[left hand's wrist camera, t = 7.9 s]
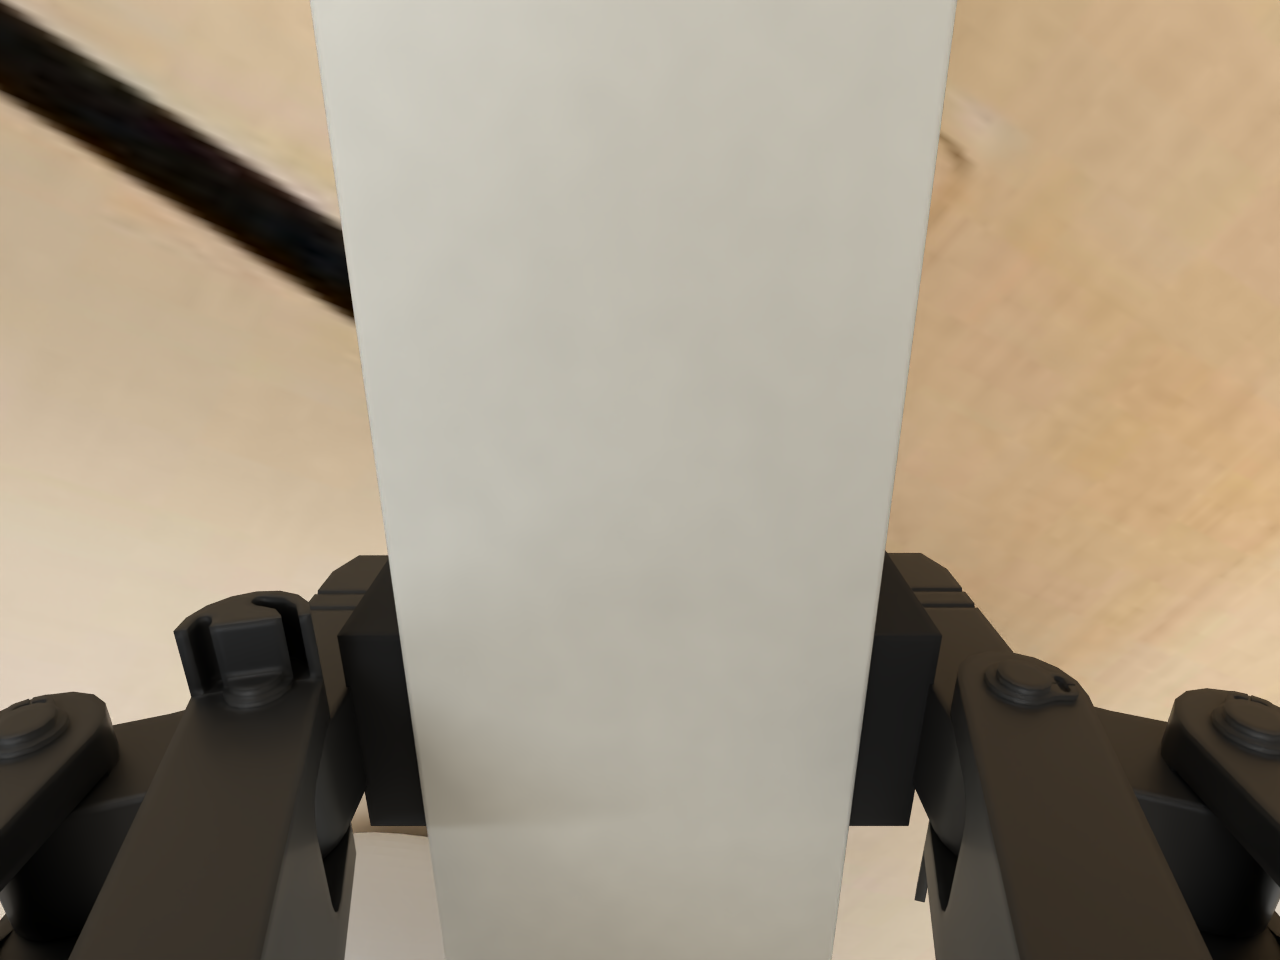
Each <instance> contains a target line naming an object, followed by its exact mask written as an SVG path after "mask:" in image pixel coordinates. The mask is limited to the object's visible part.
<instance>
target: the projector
mask: <svg viewBox="0 0 1280 960" xmlns="http://www.w3.org/2000/svg"><path fill="white" fill-rule="evenodd" d="M353 835H354V841H355V848H356V861H355V870H354V879H353V888H352V897H351V905H350V914H349V923H348V932H347V941H346V950H345V959H344V960H445V953H444V946H443V939H442V932H441V925H440V918H439V911H438V904H437V897H436V889H435V882H434V875H433V868H432V861H431V854H430V847H429V840H428V837H424V836H416V835H407V834H398V833H379V832H365V833H353Z"/></svg>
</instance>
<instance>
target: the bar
mask: <svg viewBox="0 0 1280 960" xmlns="http://www.w3.org/2000/svg"><path fill="white" fill-rule="evenodd" d="M310 5H311V12H312V19H313V26H314V33H315V40H316V48H317V55H318V62H319V69H320V76H321V83H322V90H323V97H324V104H325V111H326V118H327V125H328V132H329V140H330V147H331V154H332V161H333V168H334V175H335V182H336V189H337V196H338V203H339V210H340V217H341V224H342V232H343V239H344V246H345V253H346V260H347V267H348V274H349V281H350V288H351V295H352V302H353V309H354V316H355V323H356V331H357V338H358V345H359V352H360V359H361V366H362V373H363V380H364V387H365V394H366V401H367V408H368V415H369V423H370V430H371V437H372V444H373V451H374V458H375V465H376V472H377V479H378V486H379V493H380V500H381V507H382V514H383V522H384V529H385V536H386V543H387V550H388V557H389V564H390V571H391V578H392V585H393V592H394V599H395V606H396V614H397V621H398V628H399V635H400V642H401V649H402V656H403V663H404V670H405V677H406V684H407V691H408V698H409V706H410V713H411V720H412V727H413V734H414V741H415V748H416V755H417V762H418V769H419V776H420V783H421V790H422V797H423V805H424V812H425V819H426V826H427V833H428V840H429V847H430V854H431V861H432V868H433V875H434V882H435V889H436V897H437V904H438V911H439V918H440V925H441V932H442V939H443V946H444V953H445V960H831V959H832V952H833V944H834V937H835V929H836V921H837V914H838V906H839V898H840V891H841V883H842V876H843V868H844V860H845V853H846V845H847V837H848V830H849V822H850V814H851V807H852V799H853V792H854V784H855V776H856V769H857V761H858V753H859V746H860V738H861V730H862V723H863V715H864V708H865V700H866V692H867V685H868V677H869V669H870V662H871V654H872V647H873V639H874V631H875V624H876V616H877V608H878V601H879V593H880V585H881V578H882V570H883V563H884V555H885V547H886V540H887V532H888V524H889V517H890V509H891V502H892V494H893V486H894V479H895V471H896V463H897V456H898V448H899V440H900V433H901V425H902V418H903V410H904V402H905V395H906V387H907V379H908V372H909V364H910V357H911V349H912V341H913V334H914V326H915V318H916V311H917V303H918V295H919V288H920V280H921V273H922V265H923V257H924V250H925V242H926V234H927V227H928V219H929V211H930V204H931V196H932V189H933V181H934V173H935V166H936V158H937V150H938V143H939V135H940V128H941V120H942V112H943V105H944V97H945V89H946V82H947V74H948V66H949V59H950V51H951V44H952V36H953V28H954V21H955V13H956V5H957V0H310Z"/></svg>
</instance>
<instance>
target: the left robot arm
mask: <svg viewBox="0 0 1280 960" xmlns="http://www.w3.org/2000/svg"><path fill="white" fill-rule="evenodd" d="M173 632H174V635H175V639H176V642H177V646H178V650H179V653H180V657H181V661H182V664H183V668H184V672H185V675H186V679H187V683H188V686H189V690H190V694H191V699H190V701H189V703H188V705H187V707H186V710H183V711H180V712H176V713H172V714H167V715H162V716H157V717H152V718H147V719H142V720H137V721H132V722H127V723H122V724H117V725H112V722H111V719H110V716H109V713H108V710H107V707H106V704H105V702H103V701H102V700H101V699H99V698H98V697H97V696H95V695H94V694H86V693H79V692H67V693H59V694H51V695H43V696H38V697H34V698H33V699H31V700H29V699H27V700H24V701H21V702H18V703H15V704H13V705H11V706H9V707H8V708H6V709H4V710H2V711H0V901H1V904H2V906H3V908H4V910H5V913H6V914H5V915H4V916H3V918H2V919H1V920H0V960H344V959H345V950H346V941H347V932H348V923H349V914H350V905H351V897H352V888H353V879H354V870H355V861H356V848H355V841H354V835H353V830H352V825H351V820H352V818H353V816H354V814H355V812H356V809H357V807H358V805H359V803H360V801H361V798H362V796H363V794H364V792H365V795H366V801H367V807H368V812H369V818H370V823H371V826H426V819H425V812H424V805H423V797H422V790H421V783H420V776H419V769H418V762H417V755H416V748H415V741H414V734H413V727H412V720H411V713H410V706H409V698H408V691H407V684H406V677H405V670H404V663H403V656H402V649H401V642H400V635H399V628H398V621H397V614H396V606H395V599H394V592H393V585H392V578H391V571H390V564H389V557H388V555H359V556H357V557H356V558H354V559H353V560H351V561H349V562H348V563H346V564H344V565H343V566H341V567H340V568H338V569H336V570H335V571H333V572H332V573H331V575H330V576H329V577H328V578H327V580H326V581H325V582H324V583H323V585H322V586H321V587H320V589H319V590H318V594H315V595H314V596H313V597H312V599H311V600H310V601H309V602H307V601H306V600H305V599H303V598H302V597H301V596H299V595H297V594H293V593H288V592H283V591H258V592H252V593H247V594H242V595H237V596H232V597H229V598H226V599H224V600H221V601H218V602H215V603H213V604H210V605H207V606H205V607H204V608H202V609H200V610H199V611H197V612H195V613H193V614H192V615H190V616H188V617H187V618H186V619H185V620H184V621H183V622H182V623H181V624H180V625H179V626H178V627H177V628H176V629H175V630H174V631H173ZM915 789H916V791H917V794H918V796H919V798H920V800H921V802H922V805H923V807H924V809H925V811H926V813H927V816H928V818H929V825H928V830H927V835H926V841H925V846H924V851H923V856H922V862H921V867H920V872H919V877H918V882H917V888H916V895H915V900H916V901H921V902H925V898H926V893H927V888H928V895H929V903H930V912H931V921H932V930H933V939H934V948H935V957H936V960H1280V916H1279V915H1278V914H1277V913H1276V912H1275V908H1276V906H1277V904H1278V902H1279V899H1280V707H1278V706H1276V705H1273V704H1272V703H1270V702H1269V701H1267V700H1264V699H1261V698H1258V697H1255V696H1252V695H1251V696H1248V694H1245V693H1240V692H1235V691H1225V690H1217V689H1208V688H1206V689H1198V690H1191V691H1186V692H1185V693H1183V694H1182V695H1180V696H1179V697H1178V698H1176V699H1175V701H1174V705H1173V708H1172V711H1171V714H1170V717H1169V720H1168V722H1164V721H1159V720H1154V719H1149V718H1144V717H1139V716H1134V715H1129V714H1124V713H1119V712H1114V711H1109V710H1105V709H1101V708H1097V707H1094V706H1093V704H1092V702H1091V700H1090V698H1089V696H1088V694H1087V693H1086V692H1085V691H1084V689H1083V688H1082V687H1081V686H1080V684H1079V683H1078V682H1077V681H1076V680H1075V679H1073V678H1072V677H1070V676H1069V675H1068V674H1066V673H1065V672H1063V671H1062V670H1060V669H1059V668H1057V667H1055V666H1053V665H1050V664H1048V663H1046V662H1043V661H1041V660H1039V659H1036V658H1033V657H1029V656H1025V655H1020V654H1016V653H1013V651H1012V650H1011V649H1010V648H1009V646H1008V645H1007V644H1006V643H1005V641H1004V640H1003V639H1002V638H1001V636H1000V635H999V634H998V633H997V631H996V630H995V629H994V628H993V626H992V625H991V624H990V623H989V621H988V620H987V619H986V618H985V616H984V615H983V614H982V612H981V611H980V610H979V609H978V608H975V606H974V602H973V601H972V600H971V599H970V597H969V596H968V595H967V594H966V592H962V587H961V586H960V585H959V584H958V582H957V581H956V580H955V579H954V577H953V576H952V575H951V574H950V572H949V571H948V570H947V569H946V568H944V567H943V566H941V565H939V564H938V563H936V562H934V561H933V560H931V559H930V558H928V557H926V556H925V555H923V554H921V553H887V552H886V551H885V555H884V563H883V570H882V578H881V585H880V593H879V601H878V608H877V616H876V624H875V631H874V639H873V647H872V654H871V662H870V669H869V677H868V685H867V692H866V700H865V708H864V715H863V723H862V730H861V738H860V746H859V753H858V761H857V769H856V776H855V784H854V792H853V799H852V807H851V814H850V822H849V826H909V820H910V815H911V809H912V803H913V798H914V792H915Z"/></svg>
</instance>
